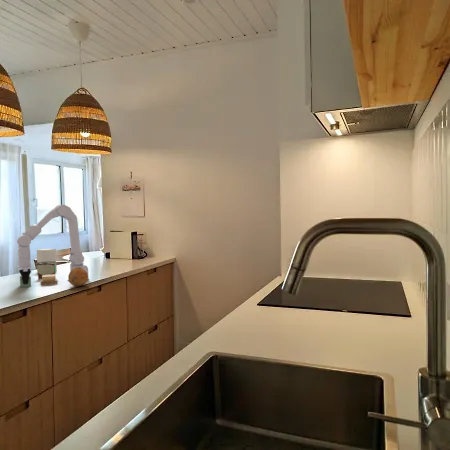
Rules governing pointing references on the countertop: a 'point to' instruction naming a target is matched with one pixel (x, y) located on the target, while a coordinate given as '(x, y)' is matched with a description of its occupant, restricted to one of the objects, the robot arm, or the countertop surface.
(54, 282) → the walnut slab
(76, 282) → the onion
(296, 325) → the countertop surface
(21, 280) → the green cube
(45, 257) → the supplement box
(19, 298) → the countertop surface
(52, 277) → the oak slab
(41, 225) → the robot arm
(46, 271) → the food container
